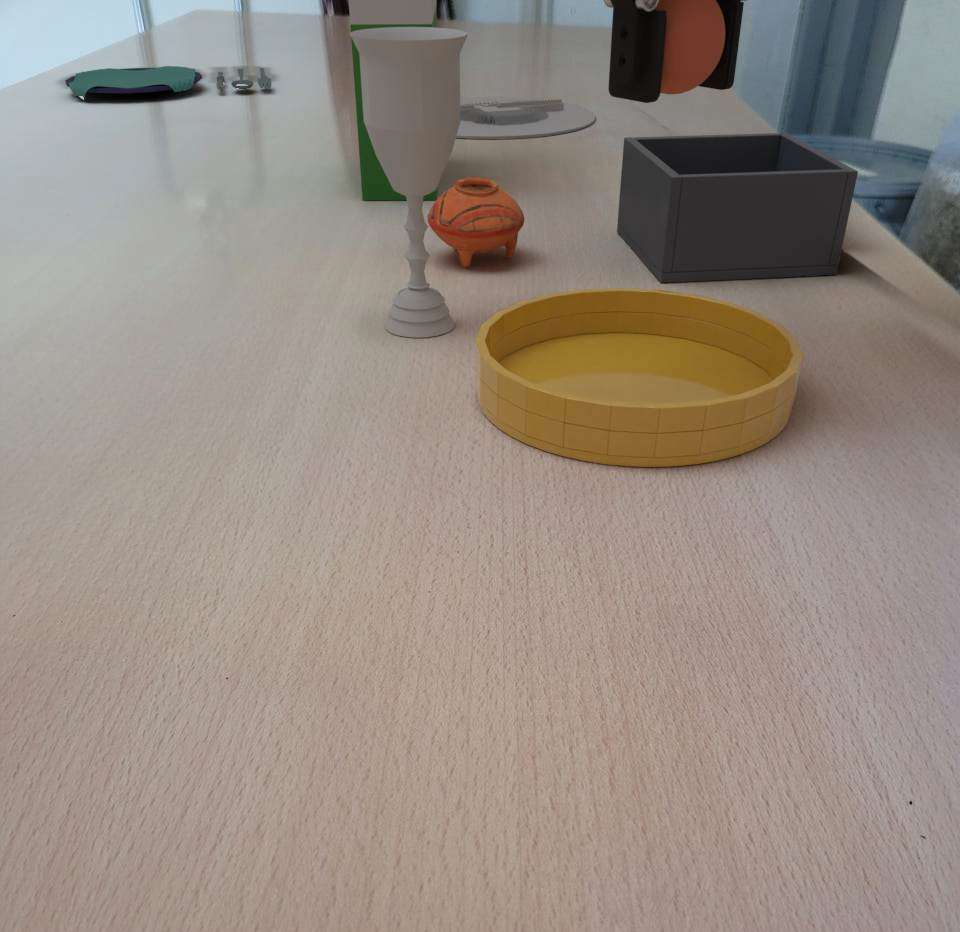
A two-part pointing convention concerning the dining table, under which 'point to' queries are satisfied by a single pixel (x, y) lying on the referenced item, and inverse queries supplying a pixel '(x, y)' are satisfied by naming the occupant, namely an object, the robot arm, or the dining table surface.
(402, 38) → the chalice
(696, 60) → the toy ball
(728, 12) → the robot arm
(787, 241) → the bin
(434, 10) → the white green box
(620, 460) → the bowl
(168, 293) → the dining table surface
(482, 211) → the pot
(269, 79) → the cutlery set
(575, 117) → the plate
